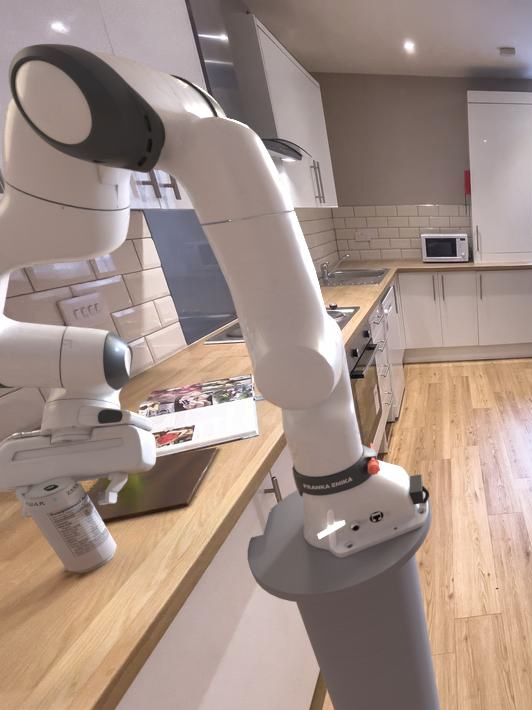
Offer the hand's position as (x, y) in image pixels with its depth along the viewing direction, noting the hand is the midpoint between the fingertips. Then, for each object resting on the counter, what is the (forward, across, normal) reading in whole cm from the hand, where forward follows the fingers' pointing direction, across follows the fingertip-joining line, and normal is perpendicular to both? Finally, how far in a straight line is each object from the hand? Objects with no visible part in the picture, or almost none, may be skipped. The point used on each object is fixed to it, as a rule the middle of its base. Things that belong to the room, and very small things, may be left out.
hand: (70, 510), depth 63 cm
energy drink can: (+8, 0, +6) cm, 10 cm away
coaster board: (-7, -1, +20) cm, 21 cm away
